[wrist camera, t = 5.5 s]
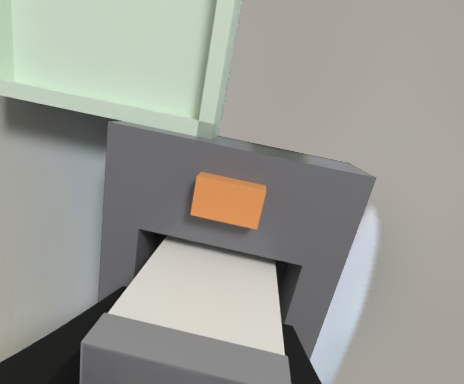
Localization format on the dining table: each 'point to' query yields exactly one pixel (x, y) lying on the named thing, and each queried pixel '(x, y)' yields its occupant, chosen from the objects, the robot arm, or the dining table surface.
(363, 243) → the dining table surface
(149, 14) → the tray
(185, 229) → the power strip
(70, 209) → the dining table surface
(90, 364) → the plug
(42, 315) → the dining table surface
